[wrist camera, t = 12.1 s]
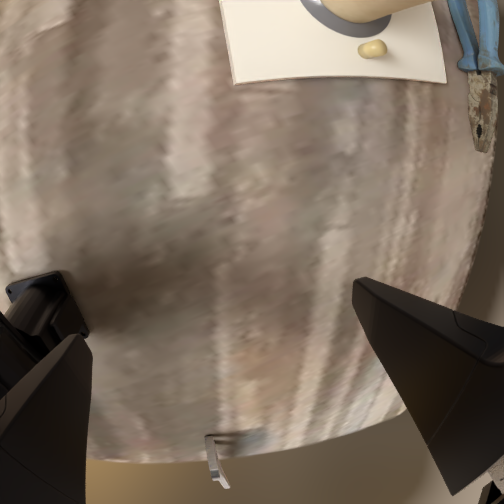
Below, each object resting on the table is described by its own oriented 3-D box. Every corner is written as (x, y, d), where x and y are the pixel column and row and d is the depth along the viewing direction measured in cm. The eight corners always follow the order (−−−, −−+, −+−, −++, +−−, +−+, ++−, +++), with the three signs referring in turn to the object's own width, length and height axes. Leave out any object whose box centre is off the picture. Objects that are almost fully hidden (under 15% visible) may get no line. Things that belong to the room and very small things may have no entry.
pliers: (462, 147, 22) (507, 159, 17) (449, 143, 22) (496, 156, 17) (452, -24, 14) (491, -33, 9) (438, -32, 14) (477, -44, 8)
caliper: (203, 433, 32) (209, 475, 26) (212, 432, 32) (218, 474, 27) (224, 484, 41) (229, 513, 35) (230, 483, 41) (236, 512, 35)
